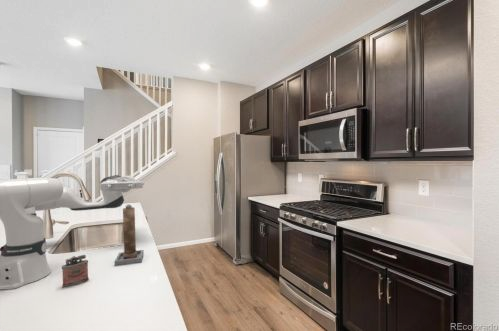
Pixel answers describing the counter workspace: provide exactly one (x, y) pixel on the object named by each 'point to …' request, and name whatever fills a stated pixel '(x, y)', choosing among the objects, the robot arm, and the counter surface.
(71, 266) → the lighter
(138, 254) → the tray
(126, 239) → the pepper mill
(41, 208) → the robot arm
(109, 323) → the counter surface
